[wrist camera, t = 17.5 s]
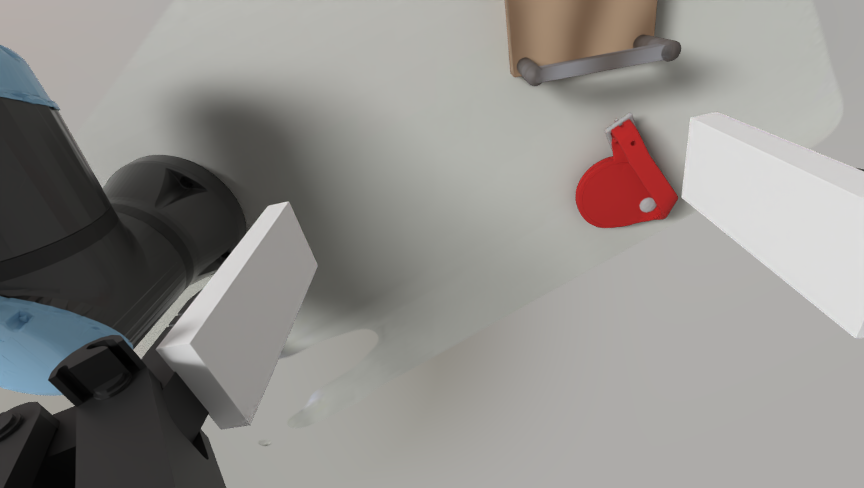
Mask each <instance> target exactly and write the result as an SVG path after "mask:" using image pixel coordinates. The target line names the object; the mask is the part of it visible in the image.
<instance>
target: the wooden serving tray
mask: <svg viewBox="0 0 864 488" xmlns="http://www.w3.org/2000/svg"><path fill="white" fill-rule="evenodd" d="M505 9H506V22H507V34H508V47H509V60H510V72H511V74H512V75H513V77H519V76H523V78H524V79H525V80H526V81H527V82H528V83H529V84H530V85H532V86H538V85H540V84H541V83H542V82H546V81H551V80H557V79H562V78H567V77H573V76H578V75H584V74H589V73H594V72H600V71H605V70H611V69H616V68H621V67H627V66H632V65H638V64H643V63H648V62H654V61H659V60H664V61H672V60H674V59H676V58H677V57H678V56H679V54H680V52H681V45H680V43H679V42H677V41H673V40H669V39H664V38H659V37H654V31H655V20H656V9H657V0H505Z"/></svg>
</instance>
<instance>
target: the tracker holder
mask: <svg viewBox="0 0 864 488" xmlns="http://www.w3.org/2000/svg"><path fill="white" fill-rule="evenodd" d="M605 133H606V136H607V138H608V141H609V144H610V146H611V149H612V151H613V156H612V157H608V158H605V159H603V160H601V161H599V162H597V163H596V164H594V165H593V166H592V167H590V168H589V169H588V170H587V171H586V172H585V174H584V175H583V176H582V178H581V179H580V181H579V183H578V186H577V189H576V204H577V207H578V210H579V212H580V214H581V215H582V217H583V218H584V219H585V220H586V221H587V222H588V223H590V224H592V225H594V226H596V227H600V228H614V227H622V226H628V225H632V224H635V223H639V222H645V221H651V220H660V219H665V218H666V217H667V216H668V214H669V213H670V211H671V209H672V208H673V206H674V205H675V203H676V201H677V200H678V196H677V194H676V193H675V191H674V190H673V188H672V187H671V186H670V184H669V183H668V181H667V180H666V178H665V177H664V175H663V174H662V172H661V171H660V169H659V168H658V166H657V165H656V164H655V162H654V161H653V159H652V158H651V156H650V155H649V153H648V151H647V149H646V147H645V144H644V142H643V140H642V138H641V136H640V134H639V132H638V130H637V129H636V126H635V122H634V119H633V115H632V113H628V114H627V115H625V116H624V117H622V118H621V119H620V120H618V118H616V119H615V123H614V124H612V125H611V126H610V127H608V128H607V129H605Z"/></svg>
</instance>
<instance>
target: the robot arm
mask: <svg viewBox="0 0 864 488" xmlns="http://www.w3.org/2000/svg"><path fill="white" fill-rule="evenodd" d="M59 110H60V108H59V107H58V105H57V104H56V103H55V102H53V101H52V100H50V98H49V97H48V95H47V93H46V92H45V90H44V89H43V87H42V85H41V84H40V82H39V81H38V79H37V78H36V76H35V75H34V73H33V71H32V70H31V68H30V67H29V65H28V64H27V63H26V61H25V60H24V59H23V58H22V57H20V56H19V55H18V54H17V53H15V52H14V51H12V50H10V49H9V48H6V47H4V46H2V45H0V387H2V388H4V389H8V390H12V391H16V392H22V393H28V394H35V395H64V396H66V397H67V399H68V400H70V401H71V402H72V403H73V404H74V405H75V406H74V407H71V408H69V409H67V410H64V411H61V412H59V413H56V414H53V415H52V414H50V413H49V412H48V411H47V410H46V409H45V408H44V407H42V406H41V405H40V404H39V403H38V402H28V403H25V404H22V405H19V406H16V407H14V408H12V409H10V410H8V411H6V412H3V413H1V414H0V488H226V486H225V483H224V480H223V478H222V475H221V472H220V469H219V467H218V464H217V461H216V458H215V455H214V453H213V450H212V447H211V444H210V442H209V439H208V437H207V436H206V435H205V434H204V432H203V431H202V430H201V427H202V425H203V423H204V421H205V419H206V417H207V415H208V414H209V415H210V417H211V418H212V419H213V420H214V421H215V423H216V424H217V425H218V426H219V428H220V429H227V428H234V427H241V426H248V425H251V423H252V420H253V418H254V415H255V413H256V411H257V408H258V406H259V404H260V401H261V399H262V396H263V394H264V392H265V390H266V387H267V385H268V382H269V380H270V377H271V375H272V373H273V371H274V368H275V366H276V364H277V361H278V359H279V357H280V354H281V352H282V349H283V347H284V345H285V342H286V340H287V338H288V335H289V333H290V331H291V328H292V326H293V324H294V321H295V319H296V317H297V314H298V312H299V309H300V307H301V305H302V302H303V300H304V298H305V295H306V293H307V291H308V288H309V286H310V284H311V281H312V279H313V276H314V274H315V272H316V269H317V267H318V265H317V262H316V260H315V258H314V256H313V254H312V251H311V249H310V247H309V245H308V242H307V240H306V238H305V236H304V234H303V231H302V229H301V227H300V225H299V222H298V220H297V218H296V216H295V214H294V211H293V209H292V207H291V205H290V202H289V201H288V202H283V203H278V204H274V205H269V206H268V207H267V208H266V209H265V210H264V212H263V213H262V214H261V215H260V217H259V218H258V219H257V221H256V222H255V223H254V224H253V226H252V227H251V228H250V230H249V231H248V232H247V233H246V224H245V219H244V215H243V212H242V210H241V207H240V205H239V203H238V202H237V200H236V198H235V197H234V195H233V194H232V193H231V191H230V190H229V189H228V188H227V187H226V186H225V185H224V184H223V183H222V182H221V181H220V180H219V179H218V178H217V177H215V176H214V175H213V174H212V173H210V172H209V171H207V170H206V169H204V168H202V167H200V166H199V165H197V164H195V163H192V162H190V161H187V160H184V159H181V158H178V157H173V156H166V155H152V156H146V157H142V158H139V159H137V160H135V161H133V162H131V163H129V164H127V165H125V166H124V167H122V168H120V169H119V170H118V171H116V172H115V173H114V174H113V175H112V176H111V177H110V178H109V180H108V181H107V183H106V184H105V186H104V187H103V189H102V187H101V185H100V184H99V182H98V180H97V178H96V177H95V175H94V173H93V171H92V170H91V168H90V166H89V164H88V162H87V161H86V159H85V157H84V155H83V154H82V152H81V150H80V148H79V147H78V145H77V143H76V141H75V140H74V138H73V136H72V134H71V133H70V131H69V129H68V127H67V126H66V124H65V122H64V120H63V119H62V117H61V115H60V113H59ZM681 198H683V199H684V200H685V201H686V202H688V203H689V204H690V205H691V206H692V207H694V208H695V209H696V210H697V211H699V212H700V213H701V214H702V215H704V216H705V217H706V218H707V219H709V220H710V221H711V222H712V223H714V224H715V225H716V226H717V227H718V228H720V229H721V230H722V231H723V232H725V233H726V234H727V235H728V236H730V237H731V238H732V239H733V240H735V241H736V242H737V243H738V244H740V245H741V246H742V247H743V248H745V249H746V250H747V251H748V252H749V253H751V254H752V255H753V256H754V257H756V258H757V259H758V260H759V261H760V262H762V263H763V264H764V265H765V266H767V267H768V268H769V269H770V270H772V271H773V272H774V273H775V274H776V275H778V276H779V277H780V278H781V279H783V280H784V281H785V282H786V283H788V284H789V285H790V286H791V287H793V288H794V289H795V290H796V291H798V292H799V293H800V294H801V295H802V296H804V297H805V298H806V299H807V300H809V301H810V302H811V303H812V304H813V305H815V306H816V307H817V308H818V309H820V310H821V311H822V312H823V313H825V314H826V315H827V316H828V317H830V318H831V319H832V320H833V321H835V322H836V323H837V324H838V325H839V326H841V327H842V328H843V329H844V330H846V331H847V332H848V333H849V334H851V335H852V336H853V337H854V338H856V339H857V338H864V170H863V169H859V168H854V167H851V166H849V165H847V164H844V163H842V162H839V161H837V160H834V159H832V158H829V157H827V156H824V155H822V154H820V153H817V152H815V151H812V150H810V149H807V148H805V147H802V146H800V145H798V144H795V143H793V142H790V141H788V140H785V139H783V138H780V137H778V136H775V135H773V134H771V133H768V132H766V131H763V130H761V129H758V128H756V127H753V126H751V125H748V124H746V123H743V122H741V121H739V120H736V119H734V118H731V117H729V116H726V115H724V114H721V113H719V112H713V113H709V114H704V115H699V116H694V117H690V126H689V135H688V144H687V153H686V161H685V170H684V179H683V188H682V197H681ZM214 273H215V274H214ZM212 274H214V275H213V277H212V278H211V279H210V281H209V282H208V283H207V284H206V286H205V287H204V288H203V289H202V290H200V291H199V292H198V293H197V294H195V295H194V296H193V297H192V298H190V299H189V300H188V301H187V303H186V304H185V305H184V306H183V308H182V309H181V310H180V311H179V313H178V316H175V318H174V319H173V320H172V321H171V322H170V324H169V327H166V329H165V330H164V331H163V332H162V334H161V335H160V336H159V337H158V339H157V340H156V341H155V342H154V344H153V345H152V346H151V347H150V349H149V350H148V351H147V352H146V354H145V355H144V356H143V357H142V359H140V358H139V356H138V355H137V354H136V353H135V352H134V351H133V349H134V348H135V347H136V346H137V345H138V344H139V342H140V341H141V340H142V339H143V338H144V337H145V335H146V334H147V333H148V332H149V331H150V330H151V329H152V327H153V326H154V325H155V324H156V323H157V322H158V320H159V319H160V318H161V317H162V316H163V315H164V313H165V312H166V311H167V310H168V309H169V308H170V307H171V305H172V304H173V303H174V302H175V301H176V300H177V298H178V297H179V296H180V295H181V294H182V293H183V291H184V290H185V289H186V288H187V287H188V286H189V285H191V284H194V283H196V282H198V281H200V280H202V279H204V278H206V277H208V276H210V275H212Z"/></svg>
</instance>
